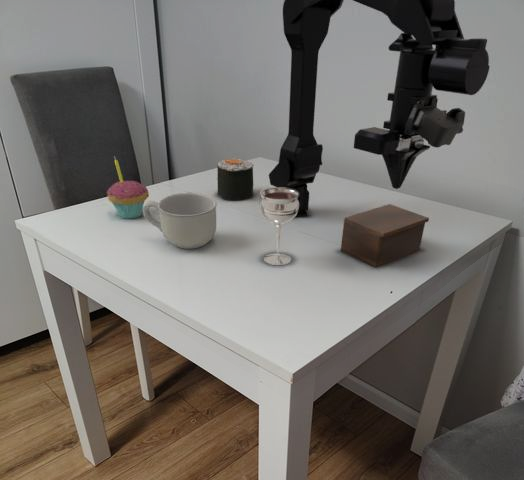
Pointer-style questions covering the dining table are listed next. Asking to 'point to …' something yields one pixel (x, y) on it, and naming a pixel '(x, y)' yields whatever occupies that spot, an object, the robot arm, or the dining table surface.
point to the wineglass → (279, 215)
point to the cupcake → (127, 196)
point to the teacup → (185, 218)
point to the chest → (380, 244)
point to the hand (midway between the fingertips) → (396, 188)
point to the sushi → (235, 179)
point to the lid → (386, 220)
